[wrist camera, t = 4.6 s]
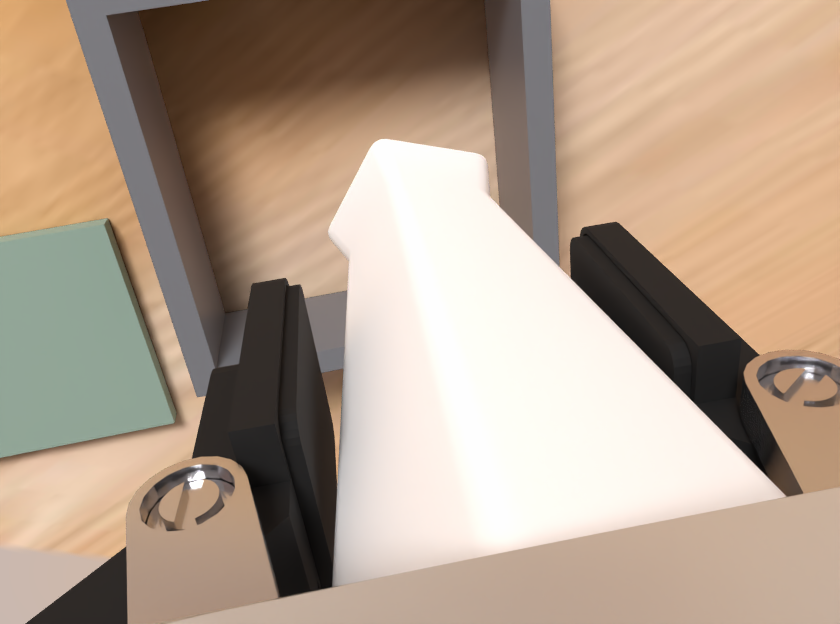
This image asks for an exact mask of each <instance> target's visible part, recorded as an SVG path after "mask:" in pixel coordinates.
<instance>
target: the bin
mask: <svg viewBox="0 0 840 624" xmlns="http://www.w3.org/2000/svg"><path fill="white" fill-rule="evenodd" d="M200 1H207V0H66V2H67V5H68V8H69V11H70V14H71V17H72V20H73V23H74V26H75V29H76V32H77V35H78V38H79V41H80V44H81V48H82V51H83V54H84V57H85V60H86V63H87V66H88V69H89V72H90V75H91V78H92V81H93V84H94V87H95V90H96V93H97V96H98V99H99V102H100V105H101V108H102V111H103V114H104V117H105V120H106V123H107V126H108V129H109V132H110V135H111V138H112V141H113V144H114V147H115V150H116V153H117V156H118V159H119V162H120V165H121V169H122V172H123V175H124V178H125V181H126V184H127V187H128V190H129V193H130V196H131V199H132V202H133V205H134V208H135V211H136V214H137V217H138V220H139V223H140V226H141V229H142V232H143V235H144V238H145V241H146V244H147V247H148V250H149V253H150V256H151V259H152V262H153V265H154V268H155V271H156V274H157V277H158V280H159V283H160V286H161V289H162V293H163V296H164V299H165V302H166V305H167V308H168V311H169V314H170V317H171V320H172V323H173V326H174V329H175V332H176V335H177V338H178V341H179V344H180V347H181V350H182V353H183V356H184V359H185V362H186V365H187V368H188V371H189V374H190V377H191V380H192V383H193V386H194V389H195V392H196V395H197V397H202V396H206V393H207V389H208V384H209V380H210V375H211V372H212V370H213V369H214V368H218V367H224V366H230V365H235V364H239V359H240V353H241V347H242V341H243V335H244V329H245V323H246V316H247V310H248V309H246V310H241V311H235V312H230V313H225V311H224V308H223V304H222V301H221V297H220V294H219V290H218V287H217V283H216V280H215V276H214V273H213V270H212V266H211V263H210V259H209V256H208V252H207V249H206V245H205V242H204V238H203V235H202V231H201V228H200V224H199V221H198V218H197V214H196V211H195V207H194V204H193V200H192V197H191V193H190V190H189V186H188V183H187V179H186V176H185V173H184V169H183V166H182V162H181V159H180V155H179V152H178V148H177V145H176V141H175V138H174V134H173V131H172V127H171V124H170V121H169V117H168V114H167V110H166V107H165V103H164V100H163V96H162V93H161V89H160V86H159V82H158V79H157V76H156V72H155V69H154V65H153V62H152V58H151V55H150V51H149V48H148V44H147V41H146V37H145V34H144V30H143V27H142V24H141V20H140V17H139V13H138V11H139V10H146V9H152V8H159V7H166V6H173V5H179V4H186V3H193V2H200ZM484 4H485V17H486V30H487V43H488V57H489V70H490V83H491V96H492V110H493V123H494V136H495V149H496V163H497V176H498V189H499V202H500V208H501V209H502V210H503V211H504V212H505V213H506V214H507V215H508V216H509V217H510V218H511V219H512V220H513V221H514V222H515V223H516V224H517V225H518V226H519V227H520V228H521V229H522V230H523V231H524V232H525V233H526V234H527V235H528V236H529V237H530V238H531V239H532V240H533V241H534V242H535V243H536V244H537V245H538V246H539V247H540V248H541V249H542V250H543V251H544V252H545V253H546V254H547V255H548V256H549V257H550V258H551V259H552V260H553V261H554V262H555V263H556V264H557V265H558V266H559V240H558V212H557V183H556V155H555V127H554V99H553V70H552V42H551V14H550V0H484ZM305 303H306V308H307V312H308V316H309V321H310V325H311V330H312V334H313V338H314V343H315V347H316V352H317V356H318V361H319V365H320V369H321V373H324V372H329V371H334V370H339V369H343V368H344V349H345V329H346V310H347V291H342V292H337V293H332V294H326V295H321V296H316V297H310V298H305Z"/></svg>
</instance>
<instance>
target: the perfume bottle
mask: <svg viewBox="0 0 840 624" xmlns="http://www.w3.org/2000/svg"><path fill="white" fill-rule="evenodd" d="M328 234H329V238H330V239H331V241H332V242H333V243H334V244H335V246H336V247H337V248H338V249H339V250H340V251H341V253H342V254H343V255H344V256H345V257H346V259H347V260H348V261H349V271H348V291H347V310H346V329H345V349H344V368H343V387H342V406H341V426H340V445H339V464H338V484H337V503H336V522H335V541H334V561H333V580H332V587H335V586H340V585H344V584H349V583H354V582H359V581H364V580H369V579H374V578H378V577H383V576H388V575H393V574H398V573H403V572H408V571H413V570H418V569H423V568H428V567H433V566H438V565H443V564H448V563H453V562H458V561H463V560H468V559H473V558H478V557H483V556H488V555H493V554H498V553H503V552H508V551H513V550H518V549H523V548H528V547H533V546H538V545H543V544H548V543H553V542H558V541H563V540H568V539H573V538H578V537H583V536H588V535H593V534H598V533H603V532H608V531H614V530H619V529H624V528H629V527H634V526H639V525H644V524H649V523H654V522H659V521H665V520H670V519H675V518H680V517H685V516H690V515H695V514H700V513H706V512H711V511H716V510H721V509H726V508H731V507H737V506H742V505H747V504H752V503H757V502H762V501H767V500H773V499H778V498H783V497H787V496H786V495H785V494H784V493H783V492H782V491H781V490H780V489H779V488H778V487H777V486H776V485H775V484H774V483H773V482H772V481H771V480H770V479H769V478H768V477H767V476H766V475H765V474H764V473H763V472H762V471H761V470H760V469H759V468H758V467H757V466H756V465H755V464H754V463H753V462H752V461H751V460H750V459H749V458H748V457H747V456H746V455H745V454H744V453H743V452H742V451H741V450H740V449H739V448H738V447H737V446H736V445H735V444H734V443H733V442H732V441H731V440H730V439H729V438H728V437H727V436H726V435H725V434H724V433H723V432H722V431H721V430H720V429H719V428H718V427H717V426H716V425H715V424H714V423H713V422H712V421H711V420H710V419H709V418H708V417H707V416H706V415H705V414H704V413H703V412H702V411H701V410H700V409H699V408H698V407H697V406H696V405H695V404H694V403H693V402H692V401H691V399H690V398H689V397H688V396H687V395H686V394H685V393H684V392H683V391H682V390H681V389H680V388H679V387H678V386H677V385H676V384H675V383H674V382H673V381H672V380H671V379H670V378H669V377H668V376H667V375H666V374H665V373H664V372H663V371H662V370H661V369H660V368H659V367H658V366H657V365H656V364H655V363H654V362H653V361H652V360H651V359H650V358H649V357H648V356H647V355H646V354H645V353H644V352H643V351H642V350H641V349H640V348H639V347H638V346H637V345H636V344H635V343H634V342H633V341H632V340H631V339H630V338H629V337H628V336H627V335H626V334H625V333H624V332H623V331H622V330H621V329H620V328H619V327H618V326H617V325H616V324H615V323H614V322H613V321H612V320H611V319H610V318H609V317H608V316H607V315H606V314H605V313H604V312H603V311H602V310H601V309H600V308H599V307H598V306H597V305H596V304H595V303H594V302H593V301H592V299H591V298H590V297H589V296H588V295H587V294H586V293H585V292H584V291H583V290H582V289H581V288H580V287H579V286H578V285H577V284H576V283H575V282H574V281H573V280H572V279H571V278H570V277H569V276H568V275H567V274H566V273H565V272H564V271H563V270H562V269H561V268H560V267H559V266H558V265H557V264H556V263H555V262H554V261H553V260H552V259H551V258H550V257H549V256H548V255H547V254H546V253H545V252H544V251H543V250H542V249H541V248H540V247H539V246H538V245H537V244H536V243H535V242H534V241H533V240H532V239H531V238H530V237H529V236H528V235H527V234H526V233H525V232H524V231H523V230H522V229H521V228H520V227H519V226H518V225H517V224H516V223H515V222H514V221H513V220H512V219H511V218H510V217H509V216H508V215H507V214H506V213H505V212H504V211H503V210H502V209H501V208H500V207H499V206H498V205H497V204H496V203H495V202H494V201H493V199H492V198H491V197H490V186H489V173H488V165H487V161H486V159H485V158H484V157H483V156H482V155H480V154H477V153H472V152H465V151H459V150H453V149H446V148H440V147H434V146H427V145H421V144H415V143H408V142H402V141H396V140H389V139H380V140H378V141H376V142H374V144H373V145H372V146H371V148H370V149H369V151H368V153H367V155H366V157H365V159H364V161H363V163H362V165H361V167H360V169H359V171H358V172H357V174H356V176H355V178H354V180H353V182H352V184H351V186H350V188H349V190H348V192H347V194H346V196H345V198H344V200H343V202H342V203H341V205H340V207H339V209H338V211H337V213H336V215H335V217H334V219H333V221H332V223H331V225H330V228H329V231H328Z"/></svg>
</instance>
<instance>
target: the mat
mask: <svg viewBox="0 0 840 624" xmlns="http://www.w3.org/2000/svg"><path fill="white" fill-rule="evenodd" d="M176 415H177V413H176V410H175V407H174V405H173V402H172V399H171V396H170V393H169V390H168V387H167V385H166V382H165V379H164V376H163V373H162V370H161V368H160V365H159V362H158V359H157V356H156V353H155V351H154V348H153V345H152V342H151V339H150V336H149V333H148V331H147V328H146V325H145V322H144V319H143V316H142V314H141V311H140V308H139V305H138V302H137V299H136V297H135V294H134V291H133V288H132V285H131V282H130V279H129V277H128V274H127V271H126V268H125V265H124V262H123V260H122V257H121V254H120V251H119V248H118V245H117V242H116V240H115V237H114V234H113V231H112V228H111V225H110V223H109V220H108V218H107V219H101V220H95V221H89V222H83V223H78V224H72V225H66V226H60V227H54V228H49V229H43V230H37V231H31V232H25V233H20V234H14V235H8V236H2V237H0V458H2V457H7V456H12V455H17V454H22V453H27V452H32V451H37V450H42V449H47V448H52V447H57V446H62V445H67V444H72V443H77V442H82V441H87V440H92V439H97V438H102V437H107V436H112V435H117V434H122V433H127V432H132V431H137V430H142V429H147V428H152V427H157V426H162V425H167V424H172V423H175V419H176Z"/></svg>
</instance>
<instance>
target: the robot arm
mask: <svg viewBox="0 0 840 624" xmlns="http://www.w3.org/2000/svg"><path fill="white" fill-rule="evenodd" d="M570 263H571V279H572V280H573V281H574V282H575V283H576V284H577V285H578V286H579V287H580V288H581V289H582V290H583V291H584V292H585V293H586V294H587V295H588V296H589V297H590V298H591V299H592V301H593V302H594V303H595V304H596V305H597V306H598V307H599V308H600V309H601V310H602V311H603V312H604V313H605V314H606V315H607V316H608V317H609V318H610V319H611V320H612V321H613V322H614V323H615V324H616V325H617V326H618V327H619V328H620V329H621V330H622V331H623V332H624V333H625V334H626V335H627V336H628V337H629V338H630V339H631V340H632V341H633V342H634V343H635V344H636V345H637V346H638V347H639V348H640V349H641V350H642V351H643V352H644V353H645V354H646V355H647V356H648V357H649V358H650V359H651V360H652V361H653V362H654V363H655V364H656V365H657V366H658V367H659V368H660V369H661V370H662V371H663V372H664V373H665V374H666V375H667V376H668V377H669V378H670V379H671V380H672V381H673V382H674V383H675V384H676V385H677V386H678V387H679V388H680V389H681V390H682V391H683V392H684V393H685V394H686V395H687V396H688V397H689V398H690V399H691V401H692V402H693V403H694V404H695V405H696V406H697V407H698V408H699V409H700V410H701V411H702V412H703V413H704V414H705V415H706V416H707V417H708V418H709V419H710V420H711V421H712V422H713V423H714V424H715V425H716V426H717V427H718V428H719V429H720V430H721V431H722V432H723V433H724V434H725V435H726V436H727V437H728V438H729V439H730V440H731V441H732V442H733V443H734V444H735V445H736V446H737V447H738V448H739V449H740V450H741V451H742V452H743V453H744V454H745V455H746V456H747V457H748V458H749V459H750V460H751V461H752V462H753V463H754V464H755V465H756V466H757V467H758V468H759V469H760V470H761V471H762V472H763V473H764V474H765V475H766V476H767V477H768V478H769V479H770V480H771V481H772V482H773V483H774V484H775V485H776V486H777V487H778V488H779V489H780V490H781V491H782V492H783V493H784V494H785V495H786V496H787V497H783V498H778V499H773V500H767V501H762V502H757V503H752V504H747V505H742V506H737V507H731V508H726V509H721V510H716V511H711V512H706V513H700V514H695V515H690V516H685V517H680V518H675V519H670V520H665V521H659V522H654V523H649V524H644V525H639V526H634V527H629V528H624V529H619V530H614V531H608V532H603V533H598V534H593V535H588V536H583V537H578V538H573V539H568V540H563V541H558V542H553V543H548V544H543V545H538V546H533V547H528V548H523V549H518V550H513V551H508V552H503V553H498V554H493V555H488V556H483V557H478V558H473V559H468V560H463V561H458V562H453V563H448V564H443V565H438V566H433V567H428V568H423V569H418V570H413V571H408V572H403V573H398V574H393V575H388V576H383V577H378V578H374V579H369V580H364V581H359V582H354V583H349V584H344V585H340V586H335V587H332V580H333V561H334V541H335V522H336V503H337V478H336V458H335V439H334V430H333V423H332V418H331V413H330V409H329V405H328V400H327V396H326V391H325V387H324V383H323V378H322V374H321V369H320V365H319V361H318V356H317V352H316V347H315V343H314V338H313V334H312V330H311V325H310V321H309V316H308V312H307V308H306V303H305V299H304V294H303V290H302V287H301V285H300V284H299V285H294V286H289V284H288V281H287V279H286V278H283V279H277V280H271V281H265V282H259V283H253V284H252V286H251V292H250V298H249V304H248V310H247V316H246V323H245V329H244V335H243V341H242V347H241V353H240V359H239V364H235V365H230V366H224V367H218V368H214V369H213V370H212V372H211V375H210V380H209V384H208V389H207V393H206V398H205V402H204V407H203V411H202V416H201V420H200V425H199V429H198V434H197V438H196V443H195V447H194V452H193V456H192V459H189V460H185V461H182V462H179V463H177V464H174V465H172V466H170V467H167V468H165V469H164V470H162V471H161V472H159V473H157V474H156V475H154V476H153V477H151V478H150V479H149V480H148V481H146V482H145V483H144V484H143V485H142V486H141V487H140V488H139V489H138V490H137V491H136V493H135V495H134V496H133V498H132V499H131V501H130V502H129V505H128V509H127V514H126V547H125V548H124V549H122V550H121V551H120V552H119V553H117V554H116V555H115V556H113V557H112V558H111V559H109V560H108V561H107V562H105V563H104V564H103V565H102V566H100V567H99V568H98V569H96V570H95V571H94V572H92V573H91V574H90V575H88V576H87V577H86V578H85V579H83V580H82V581H81V582H79V583H78V584H77V585H76V586H74V587H73V588H71V589H70V590H69V591H68V592H66V593H65V594H64V595H62V596H61V597H60V598H59V599H57V600H56V601H54V603H52V604H51V605H49V606H48V607H47V608H45V609H44V610H43V611H41V612H40V613H39V614H37V615H36V616H35V617H33V618H32V619H31V620H30V621H28V622H27V623H26V624H840V359H838V358H835V357H832V356H829V355H826V354H822V353H817V352H811V351H805V350H781V351H774V352H768V353H766V354H763V355H759V354H758V353H757V352H756V351H755V350H753V349H752V348H751V347H750V346H749V345H748V344H747V343H746V342H745V341H744V340H743V339H742V338H741V337H740V336H739V335H738V334H737V333H735V332H734V331H733V330H732V329H731V328H730V327H729V326H728V325H727V324H726V323H725V322H724V321H723V320H722V319H721V318H719V317H718V316H717V315H716V314H715V313H714V312H713V311H712V310H711V309H710V308H709V307H708V306H707V305H706V304H705V303H703V302H702V301H701V300H700V299H699V298H698V297H697V296H696V295H695V294H694V293H693V292H692V291H691V290H690V289H689V288H687V287H686V286H685V285H684V284H683V283H682V282H681V281H680V280H679V279H678V278H677V277H676V276H675V275H674V274H673V273H671V272H670V271H669V270H668V269H667V268H666V267H665V266H664V265H663V264H662V263H661V262H660V261H659V260H658V259H657V258H655V257H654V256H653V255H652V254H651V253H650V252H649V251H648V250H647V249H646V248H645V247H644V246H643V245H642V244H641V243H639V242H638V241H637V240H636V239H635V238H634V237H633V236H632V235H631V234H630V233H629V232H628V231H627V230H626V229H625V228H623V227H622V226H621V225H620V224H619V223H617V222H612V223H606V224H600V225H594V226H588V227H584V228H582V230H581V233H580V237H574V238H572V240H571V243H570Z"/></svg>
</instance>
